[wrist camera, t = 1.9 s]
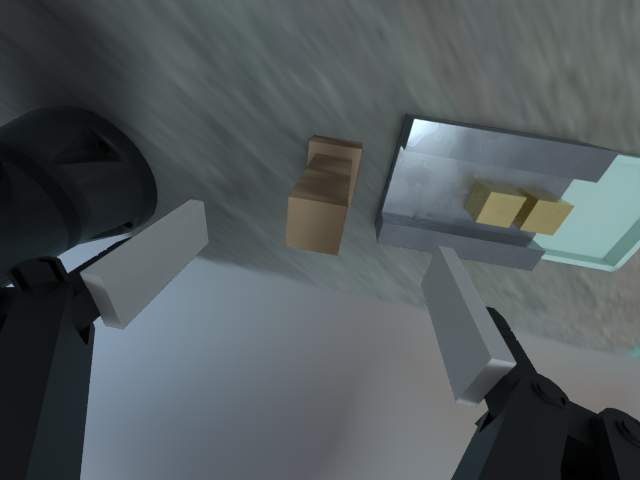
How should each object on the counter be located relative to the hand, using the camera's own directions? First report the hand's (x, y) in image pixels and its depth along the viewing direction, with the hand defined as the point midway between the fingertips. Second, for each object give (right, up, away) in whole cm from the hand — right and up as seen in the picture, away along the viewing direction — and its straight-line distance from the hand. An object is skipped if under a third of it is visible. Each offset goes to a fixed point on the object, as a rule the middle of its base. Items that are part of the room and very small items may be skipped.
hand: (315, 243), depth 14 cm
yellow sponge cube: (+21, +4, +11) cm, 23 cm away
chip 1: (+17, +4, +11) cm, 20 cm away
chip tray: (+28, +3, +12) cm, 31 cm away
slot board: (+16, +6, +13) cm, 21 cm away
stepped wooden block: (+2, +8, +13) cm, 16 cm away
